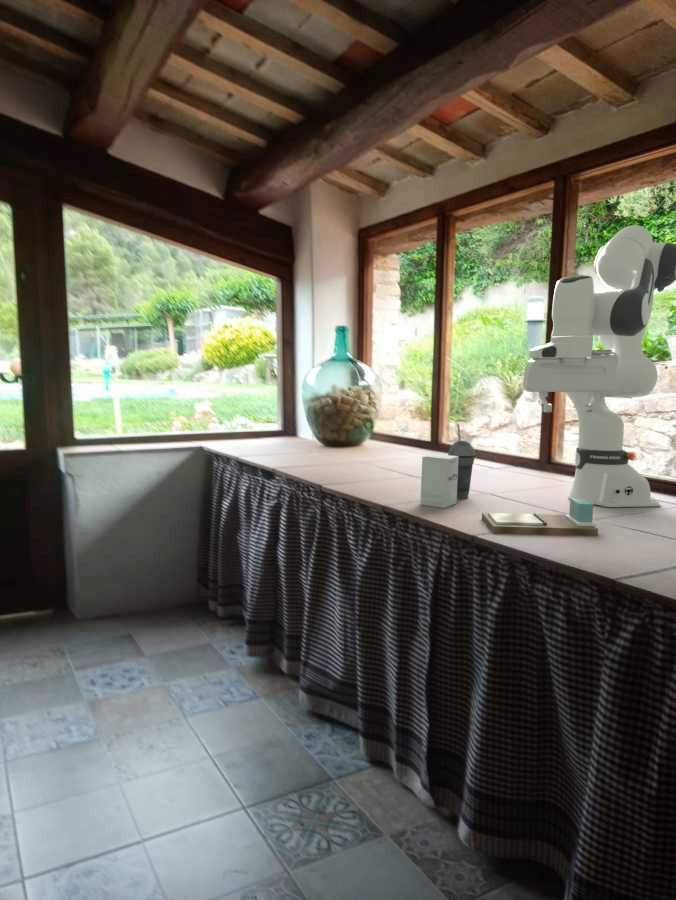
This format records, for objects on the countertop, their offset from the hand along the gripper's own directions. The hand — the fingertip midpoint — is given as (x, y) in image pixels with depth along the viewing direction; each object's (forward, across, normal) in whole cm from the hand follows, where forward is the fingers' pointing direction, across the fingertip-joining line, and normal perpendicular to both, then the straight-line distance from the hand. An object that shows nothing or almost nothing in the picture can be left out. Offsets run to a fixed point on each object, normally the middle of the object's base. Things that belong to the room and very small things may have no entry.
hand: (568, 412), depth 145 cm
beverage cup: (+26, +19, -27) cm, 42 cm away
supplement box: (+26, +26, -17) cm, 40 cm away
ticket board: (+25, +9, +6) cm, 27 cm away
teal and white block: (+24, -2, +6) cm, 25 cm away
